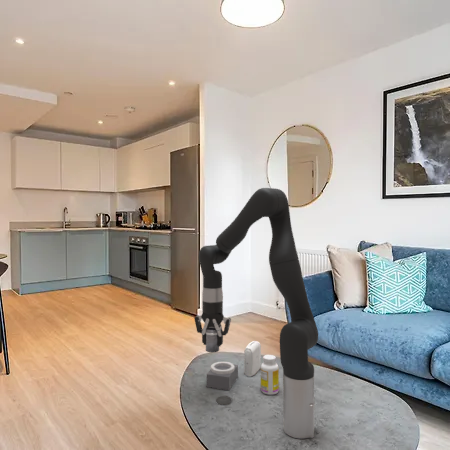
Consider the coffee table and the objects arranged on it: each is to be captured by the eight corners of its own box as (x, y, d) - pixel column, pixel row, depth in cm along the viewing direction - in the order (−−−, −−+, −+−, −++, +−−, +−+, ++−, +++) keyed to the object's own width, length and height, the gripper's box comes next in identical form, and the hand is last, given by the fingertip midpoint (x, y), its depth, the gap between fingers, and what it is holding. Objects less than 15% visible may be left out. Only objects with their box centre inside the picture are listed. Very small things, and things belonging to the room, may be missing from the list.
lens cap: (233, 399, 130) (233, 397, 130) (229, 407, 125) (229, 404, 125) (218, 397, 132) (218, 395, 132) (213, 404, 127) (213, 402, 127)
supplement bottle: (278, 387, 139) (278, 353, 138) (279, 396, 132) (279, 360, 132) (260, 386, 139) (260, 353, 139) (260, 395, 133) (260, 360, 132)
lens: (221, 348, 137) (221, 326, 136) (217, 353, 132) (217, 330, 132) (208, 346, 138) (208, 325, 138) (203, 351, 133) (203, 329, 133)
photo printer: (252, 377, 147) (252, 347, 147) (242, 375, 149) (242, 345, 149) (262, 368, 156) (262, 339, 156) (252, 366, 158) (252, 338, 158)
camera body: (238, 377, 148) (238, 361, 147) (229, 390, 136) (229, 374, 136) (216, 374, 150) (216, 359, 150) (206, 387, 139) (206, 371, 139)
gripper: (190, 300, 133) (190, 346, 133) (228, 302, 129) (228, 350, 129) (197, 295, 140) (197, 339, 141) (233, 298, 136) (233, 343, 136)
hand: (212, 344), depth 135 cm, fingers closed on lens, 5 cm apart
